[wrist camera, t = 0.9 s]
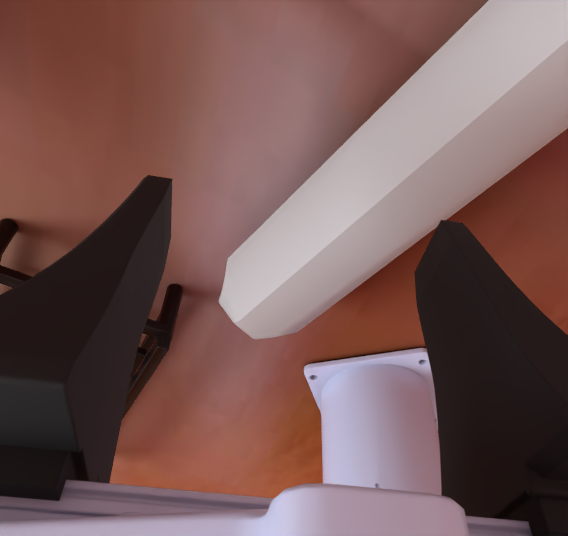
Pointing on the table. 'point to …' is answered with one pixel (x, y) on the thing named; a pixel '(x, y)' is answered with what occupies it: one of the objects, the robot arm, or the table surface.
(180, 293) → the shoe rack
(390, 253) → the tube
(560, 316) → the table surface
